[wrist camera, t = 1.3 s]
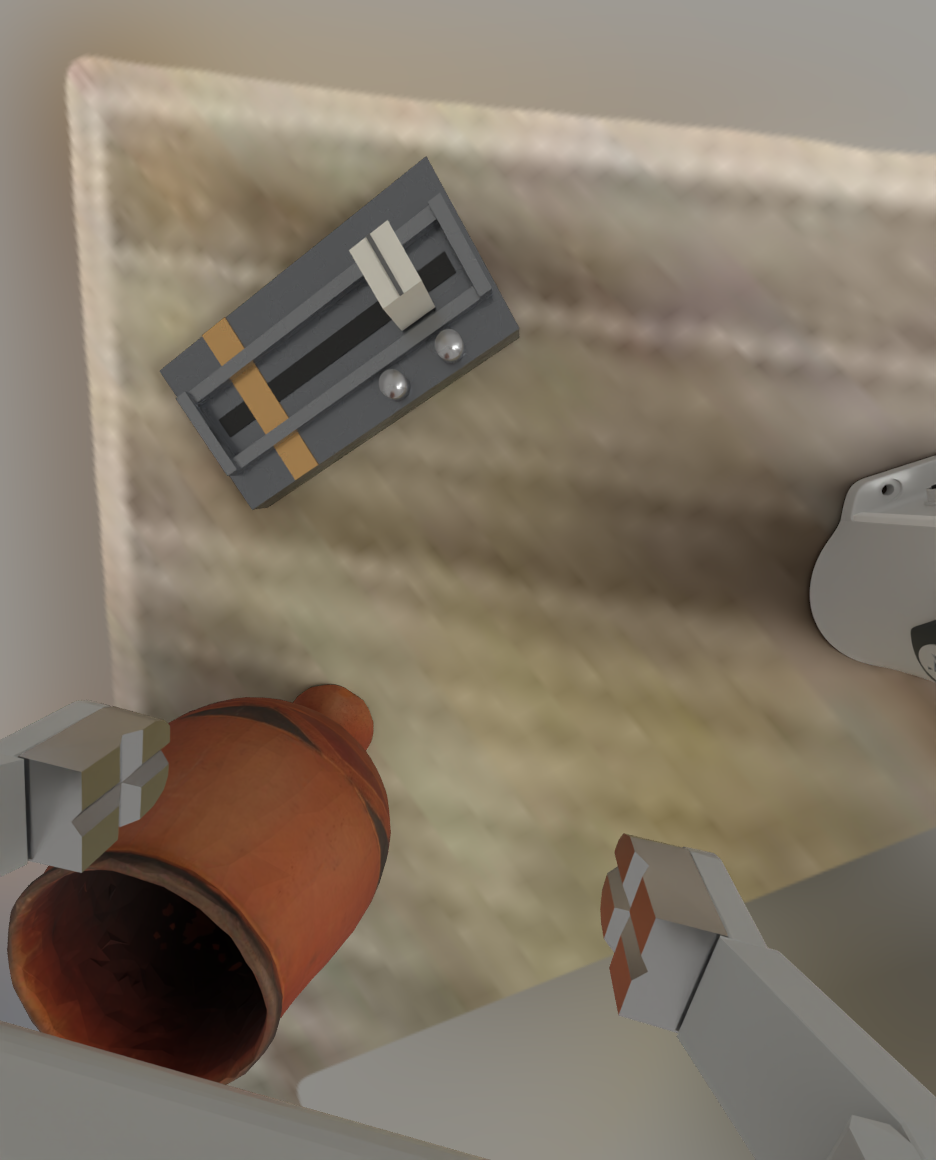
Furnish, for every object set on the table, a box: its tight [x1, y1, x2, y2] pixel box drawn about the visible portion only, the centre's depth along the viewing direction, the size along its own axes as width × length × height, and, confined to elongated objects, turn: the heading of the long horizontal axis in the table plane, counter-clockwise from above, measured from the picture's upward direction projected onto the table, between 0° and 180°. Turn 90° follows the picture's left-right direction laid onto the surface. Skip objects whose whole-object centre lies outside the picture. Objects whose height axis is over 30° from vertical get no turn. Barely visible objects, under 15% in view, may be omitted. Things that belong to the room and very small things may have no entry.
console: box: [160, 157, 519, 510], centre depth 37 cm, size 26×13×4 cm, turn 121°
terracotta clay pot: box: [7, 684, 391, 1085], centre depth 35 cm, size 19×19×25 cm
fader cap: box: [349, 220, 435, 331], centre depth 32 cm, size 3×4×5 cm
